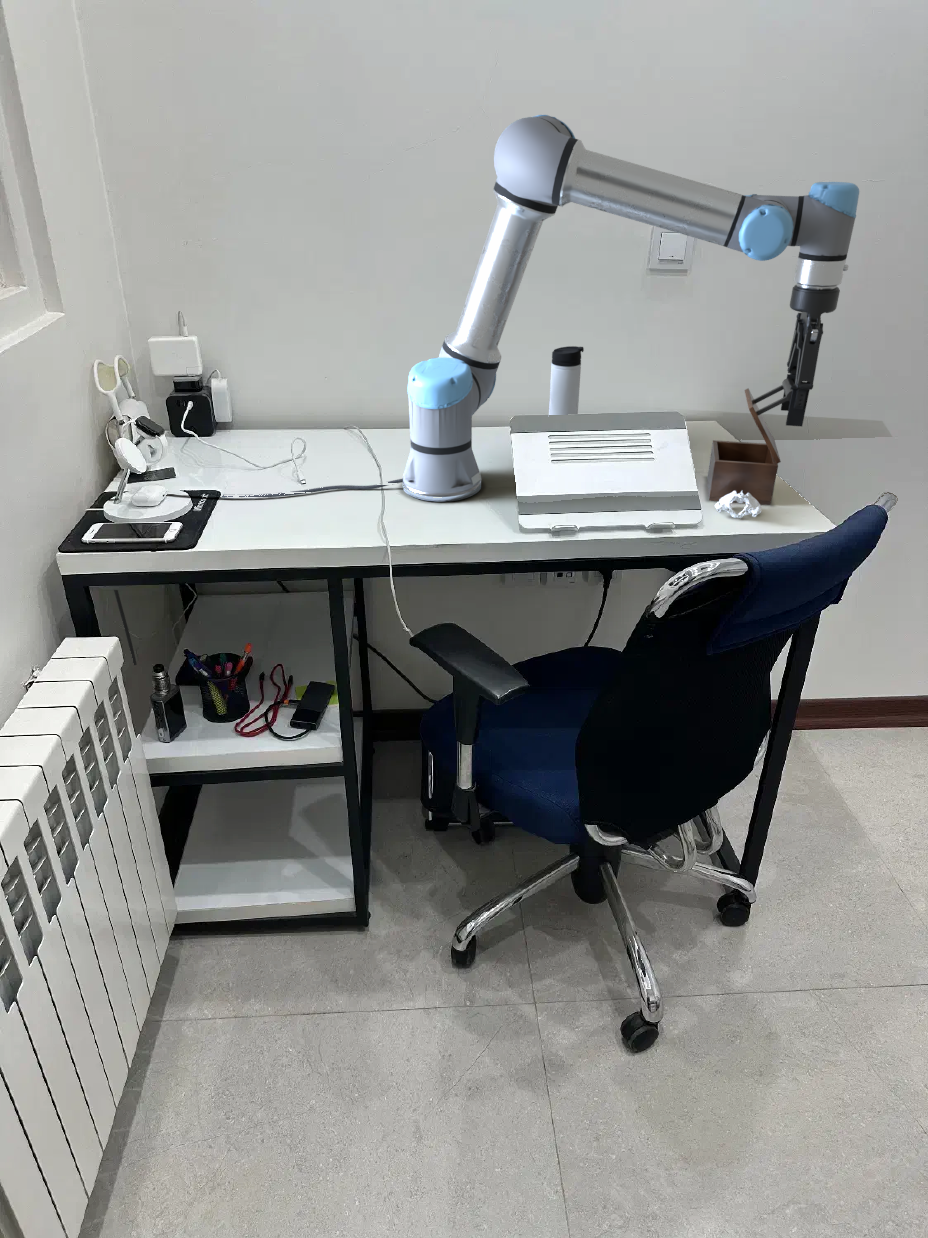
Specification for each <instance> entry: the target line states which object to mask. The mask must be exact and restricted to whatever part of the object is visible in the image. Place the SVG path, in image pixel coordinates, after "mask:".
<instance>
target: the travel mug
mask: <svg viewBox="0 0 928 1238" xmlns="http://www.w3.org/2000/svg"><path fill="white" fill-rule="evenodd" d="M584 349H585V348H584V346H576V345H575V346H574V345H572V346H571V345H570V346H569V345H568V346H561V347H558V348H554V349H553V351H552V352H551V362H550V363H551V364H550V365H551V367H550V382H549V383H550V384H549V385H550V387H549V405H548V406H549V407H548V416H549V415H568V414H578V415H579V403H580V402H579V399H580V386H581V385H580V384H581V371H582V370H581V369H582V353H584V351H585V350H584Z"/></svg>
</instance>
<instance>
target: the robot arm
mask: <svg viewBox="0 0 928 1238" xmlns="http://www.w3.org/2000/svg"><path fill="white" fill-rule="evenodd" d="M493 163H494V164H493V165H494V170H495V174H496V180H495V182H494V186H493V189H492V193H493V195H494V196H495V199H496V202H497V205H496V206H495V207H496V208H495V210H494V214H493V217H492V220H491V222H490V226H489V229H488V232H487V234H486V238H485V241H484V243H483V247H482V250H481V253H480V255H479V259H478V262H477V265H476V268H475V271H474V274H473V276H472V277H473V278H472V280H471V283H470V285H469V289H468V292H467V296H466V298H465V301H464V304H463V307H462V310H461V314H460V317H459V320H458V322H457V326H456V328H455V330H454V331H453V332H450V333H448V334H446V335H445V336H444V341H443V343H442V345H441V349H440V350H439V355H438V357H434V358H433V357H432V358H430V359H428V360H422V361H420V362H418V363H416V364H415V365H414V366H412V367H411V369H410V371H409V373H408V380H407V381H408V382H407V389H406V390H407V395H408V414H409V415H408V417H409V439H410V451H409V453H408V458H407V461H406V465H405V467H404V472H403V475H402V478H398V479H394V480H389V481H387V482H388V483H397V484H401V483H402V489H403V491H404V492H405V493H406V494H407V495H408V496H410V497H413V498H415V499H418V500H422V501H427V502H437V503H438V502H441V503H442V502H454V501H461V500H464V499H467V498H470V497H472V496H474V495H476V494H477V493H478V492H479V491H480V490H481V489H482V475H481V471H480V469H479V466H478V463H477V459H476V457H475V453H474V451H473V415H475V414H476V412H478V410H479V409H480V408H481V406H482V405H484V404H485V403H486V402H487V401H488V400H489V399H490V397H491V395H492V394H493V393H494V389H495V386H496V382H497V372H498V369H499V366H500V363H501V362H502V361H501V360H502V354H501V352H500V350H499V347H498V346H499V344H500V341H501V338H502V335H503V332H504V330H505V327H506V324H507V321H508V319H509V317H510V313H511V311H512V307H513V305H514V302H515V300H516V297H517V294H518V291H519V289H520V286H521V283H522V281H523V278H524V275H525V273H526V269H527V267H528V264H529V261H530V259H531V256H532V253H533V251H534V248H535V245H536V242H537V239H538V236H539V234H540V231H541V229H542V225H543V223H544V222H545V221H546V220H548V219H549V218H551V217H553V216H555V215H556V212H557V210H558V207H561V208H563V207H565V206H567V205H568V204H570V203H572V204H576V205H580V206H584V207H587V208H590V209H594V210H598V211H601V212H603V213H608V214H611V215H615V216H618V217H621V218H625V219H628V220H632V221H636V222H639V223H642V224H646V225H649V226H653V227H656V228H659V229H663V230H666V231H670V232H672V233H677V234H681V235H683V236H687V237H691V238H694V239H697V240H701V241H704V242H707V243H711V244H715V245H719V246H722V247H725V248H727V249H730V250H733V251H737V252H740V253H743V254H744V255H745V256H747V257H748V258H750V259H752V260H754V261H760V262H765V261H769V260H773V259H775V258H777V257H778V256H779V255H781V254H782V253H783V252H785V250H786V249H787V247H799V252H798V255H797V258H796V259H797V260H796V264H795V265H796V266H795V270H794V277H793V281H794V283H795V285H794V286H793V287H792V290H791V294H790V300H789V308H790V309H791V310H793V311H794V312H795V311H796V312H797V314H796V320H795V327H794V332H793V335H792V336H793V337H792V341H791V344H790V345H791V346H790V349H789V355H788V360H787V362H786V367H787V370H786V371H787V374H786V379H787V378H790V379H792V380H793V382H794V384H795V385H794V386H793V385H791V386H790V389H791V390H792V394H791V399H790V401H786V402H784V403H782V404H780V411H785V412H787V416H786V419H785V426H788V427H803V425H804V421H805V420H804V419H805V414H806V409H807V404H808V399H809V395H810V391H811V390H812V389H814V381H815V375H816V369H817V363H818V358H819V353H820V346H821V341H822V338H823V334H824V323H823V322H822V320H821V318H822V317H821V316H822V315H823V314H829V313H833V312H834V311H836V309H837V307H838V302H839V297H840V293H841V291H840V288H839V287H838V286H840V285H841V284H842V281H843V276H844V273H843V272H847V271H848V270H849V265H848V264H846V261H847V257H848V253H849V248H850V244H851V239H852V235H853V230H854V226H855V221H856V218H857V209H858V203H859V197H860V189H859V187H858V185H857V184H856V183H853V182H847V181H846V182H845V181H817V182H815V183H813V184H812V185H811V187H810V190H809V192H808V195H807V194H805V195H798V196H797V195H796V196H795V195H769V194H768V195H767V194H757V193H752V194H741V193H737V192H734V191H731V190H727V189H723V188H720V187H717V186H714V185H710V184H706V183H703V182H699V181H696V180H692V179H689V178H686V177H682V176H679V175H675V174H672V173H669V172H665V171H661V170H658V169H655V168H652V167H647V166H645V165H642V164H637V163H634V162H630V161H628V160H623V159H620V158H616V157H613V156H610V155H606V154H604V153H603V154H602V153H599V152H595V151H593V150H589V149H586V148H585V146H584V143H583V142H582V139H578V138H576V136H575V134H574V133H573V131H572V129H571V128H570V126H568V124H566V123H565V122H563V121H562V120H560V119H559V118H557V117H556V116H552V115H548V114H538V115H534V116H527V117H522V118H519V119H516V120H514V121H513V122H511V123H510V124H509V125H507V126H506V127H505V129H503V131H502V132H501V134H500V135H499V137H498V139H497V141H496V144H495V147H494V152H493ZM782 395H783V396H782V398H783V397H785V396H786V395H785V392H784V391H783V394H782ZM403 485H404V486H403ZM387 486H389V485H377V484H371V485H370V484H369V485H352V484H351V485H350V484H341V485H339V484H338V485H326V486H321V488H320V487H314V488H308V489H309V490H308V489H302V490H292V491H291V492H305V493H294V494H285V493H282V492H277V493H278V494H273V495H272V494H271V493H258V494H259V495H260V494H261V495H262V494H263V495H262V496H261V495H260V496H259V495H254V496H250V495H251V494H248V495H249V496H248V497H268V498H281V497H289V496H298V495H306V494H307V493H306V492H311V493H310V494H312V493H319V492H323V491H325V492H326V491H332V490H373V489H374V490H375V489H380V488H384V487H387ZM322 487H323V488H322ZM404 487H405V488H406V489H407V490H406V489H405V488H404ZM408 490H409V491H410V492H409V491H408ZM411 492H413V493H411ZM280 493H281V494H280ZM414 493H416V494H414ZM265 494H266V495H265ZM267 494H268V495H267ZM279 494H280V495H279ZM284 494H285V495H284ZM417 494H418V495H417ZM224 495H225V494H223V496H222V497H227V496H224ZM244 495H245V496H246V495H247V494H244ZM264 495H265V496H264ZM420 495H422V496H420ZM245 496H239V497H245ZM425 496H426V497H425ZM228 497H233V496H228ZM246 497H247V496H246ZM433 497H442V498H433ZM113 592H114V595H115V600H116V605H117V607H118V610H119V614H120V618H121V622H122V621H123V622H122V625H124V626H123V629H124V628H125V629H124V633H125V637H126V640H127V644H128V648H130V649H129V652H130V651H131V653H130V655H131V654H132V657H131V659H132V658H133V662H132V664H133V663H134V665H133V666H137V664H138V663H137V659H136V654H135V650H134V646H133V642H132V638H131V634H130V629H129V626H128V623H127V618H126V616H125V611H124V608H123V604H122V601H121V597H120V594H119V590H118V589H113Z"/></svg>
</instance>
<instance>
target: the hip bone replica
mask: <svg viewBox="0 0 928 1238" xmlns="http://www.w3.org/2000/svg"><path fill="white" fill-rule="evenodd" d="M736 493H737V492H736V491H733V492H732V493H730V494H727V495H725V496H724V497H722V498H721V499H720V500H719V501H716V503H715V504H714V508H715V509H716V512H717V513H722V511H724V512H726V513H728V514H729V515H730V516H731V518H733V519H742V518H744V517H745V516H748V515H752V517H753V518H756V517H757V516H758V515H759V514H761V513H762V505H761V504H759V502H758V501H757V500H756V499H755V498H754V497H753V496H752V495H751V494H750V493H747V494H746V495H744V494H743V493H742V491H741V493H739V494H736ZM733 501H737V502H738V503H737V504H744V503H743V502H746V503H745V506H744V507H743V509H742V510H741V511H740V512H739V513H736V512H735V511H734V510H733V507H732V503H734V502H733Z"/></svg>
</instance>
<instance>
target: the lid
mask: <svg viewBox="0 0 928 1238" xmlns="http://www.w3.org/2000/svg"><path fill="white" fill-rule="evenodd" d="M791 385H793V386H794V385H795V384H794V382H793V380H792V379H790V378H787V377H786V378H785V379H783V380H782V383H781V384H780V385H779V386H777V387H775V388H773V389H771V390H769V391H767V392H765V393H764V394H762V395H760V396H758V397H756V398H754V396H753V395H752V392H751V390H750V389H749V387H748V388H745V389H744V395H745V399H746V404H747V409H748V412H750V415H751V416H752V419H753V420H754V423H755V424H756V427H757V428H758V430H759V432H760V434H761V436H762V439H763V440H764V442H765V444H767V446H768V448H769V450H770V452H771V454H772V456H773V458H774V460H775V462H776V464H778V465H779V464H780V463H781V462H782V461H781V458H780V454H779V450H778V447H777V445H776V440H775V438H774V436H773V434H772V432H771V430H770V428H769V426H768V424H767V421H766V420H765V418H764V416H763V414H764V413H766V412H768V411H770V410H772V409H774V408H776V407H778V406H781V405H782V403H784V402H786V401H790V399H791V394H792V390H791V389H790V386H791ZM781 391H783V393H784V392H785V395H786V396H785V397H783V396H782V397H781V398H780V399H777V400H776V401H773V402H771V403H769V404H767V405H766V406H764V407H762V408H759V406H758V404H757V403H760V402H762V401H764V400H765V399H768V398H770V397H772V396H774V395H775V394H777V393H779V392H781Z"/></svg>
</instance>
